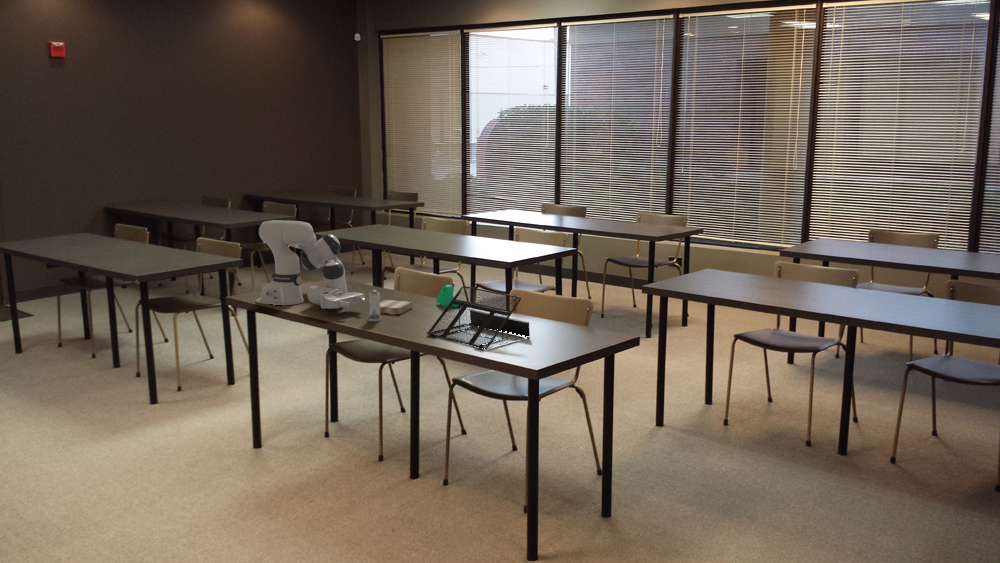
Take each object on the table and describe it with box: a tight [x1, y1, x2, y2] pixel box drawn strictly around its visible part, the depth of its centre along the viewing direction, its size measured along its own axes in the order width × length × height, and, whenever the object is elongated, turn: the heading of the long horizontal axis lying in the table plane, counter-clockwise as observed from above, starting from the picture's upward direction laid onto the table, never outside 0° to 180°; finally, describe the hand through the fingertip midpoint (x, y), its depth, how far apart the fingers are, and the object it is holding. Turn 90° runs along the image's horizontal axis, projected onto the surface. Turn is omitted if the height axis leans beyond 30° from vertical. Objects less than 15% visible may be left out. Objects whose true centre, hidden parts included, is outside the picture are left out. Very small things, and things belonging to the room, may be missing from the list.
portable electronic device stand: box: [426, 285, 531, 350], centre depth 331 cm, size 33×28×18 cm
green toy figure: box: [436, 284, 458, 308], centre depth 388 cm, size 12×8×10 cm, turn 46°
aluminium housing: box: [367, 289, 383, 323], centre depth 357 cm, size 6×6×13 cm
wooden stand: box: [380, 299, 413, 315], centre depth 377 cm, size 14×14×3 cm
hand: (356, 302), depth 364 cm, fingers open, 8 cm apart
